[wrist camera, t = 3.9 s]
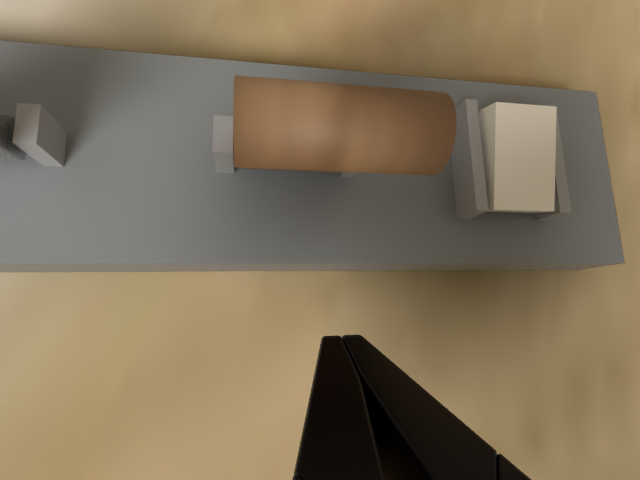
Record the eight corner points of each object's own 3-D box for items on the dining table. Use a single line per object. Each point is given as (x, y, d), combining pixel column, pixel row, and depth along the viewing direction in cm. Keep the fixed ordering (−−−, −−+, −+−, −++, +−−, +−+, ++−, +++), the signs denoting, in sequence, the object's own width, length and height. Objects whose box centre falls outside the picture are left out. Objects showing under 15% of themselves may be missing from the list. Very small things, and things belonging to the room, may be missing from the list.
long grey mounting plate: (580, 269, 25) (670, 256, 19) (-121, 272, 18) (-267, 253, 13) (557, 116, 27) (634, 67, 21) (-85, 70, 20) (-200, -18, 15)
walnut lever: (332, 174, 20) (452, 175, 8) (240, 170, 19) (233, 166, 8) (334, 136, 20) (460, 83, 8) (241, 131, 19) (233, 64, 7)
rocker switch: (533, 212, 21) (554, 211, 20) (476, 211, 20) (493, 209, 19) (536, 114, 21) (556, 106, 19) (478, 110, 20) (496, 101, 19)
